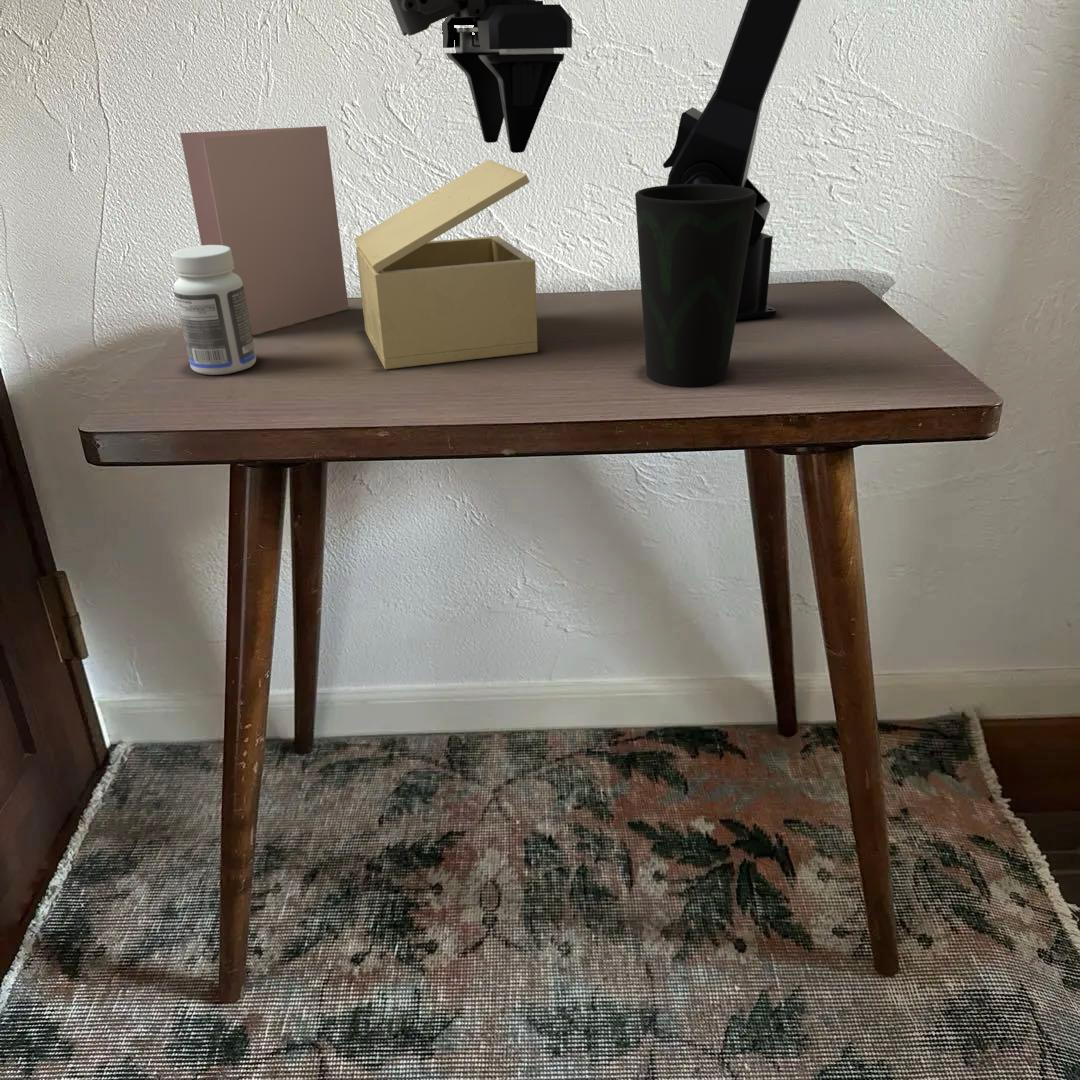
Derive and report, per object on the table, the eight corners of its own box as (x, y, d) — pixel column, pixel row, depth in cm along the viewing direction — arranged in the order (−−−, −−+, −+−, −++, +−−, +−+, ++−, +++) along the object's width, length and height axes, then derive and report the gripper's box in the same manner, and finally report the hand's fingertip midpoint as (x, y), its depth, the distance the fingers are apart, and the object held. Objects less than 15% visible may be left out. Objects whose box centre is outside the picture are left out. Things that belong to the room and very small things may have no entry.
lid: (492, 166, 74) (488, 158, 74) (530, 182, 65) (526, 174, 65) (357, 245, 74) (353, 239, 73) (376, 273, 65) (371, 265, 64)
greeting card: (347, 306, 84) (325, 125, 77) (355, 327, 78) (331, 132, 71) (216, 318, 82) (180, 132, 75) (212, 340, 76) (173, 140, 69)
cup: (758, 387, 62) (775, 197, 57) (647, 396, 61) (653, 204, 56) (720, 353, 69) (732, 181, 63) (619, 361, 68) (622, 187, 62)
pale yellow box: (501, 318, 80) (498, 235, 76) (537, 352, 71) (535, 260, 67) (365, 332, 77) (355, 247, 74) (384, 369, 68) (374, 274, 65)
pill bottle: (237, 352, 72) (216, 240, 68) (268, 365, 69) (249, 248, 65) (179, 367, 70) (154, 251, 66) (209, 380, 67) (185, 260, 63)
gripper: (373, -66, 76) (390, 141, 84) (412, -93, 61) (429, 164, 68) (504, -64, 79) (509, 136, 87) (574, -90, 63) (574, 157, 71)
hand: (503, 147), depth 78 cm, fingers open, 8 cm apart
